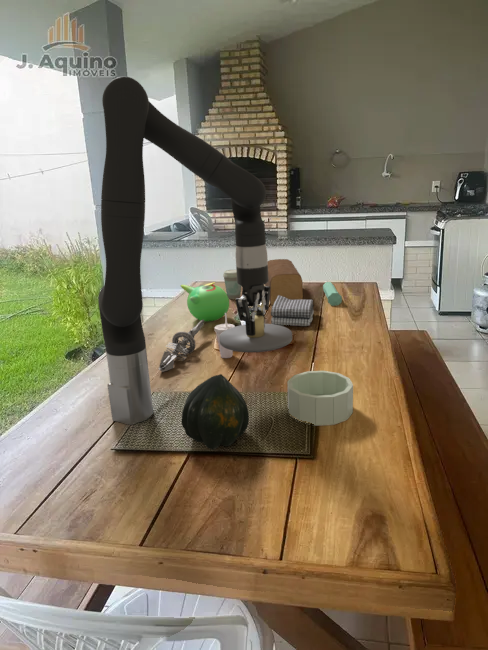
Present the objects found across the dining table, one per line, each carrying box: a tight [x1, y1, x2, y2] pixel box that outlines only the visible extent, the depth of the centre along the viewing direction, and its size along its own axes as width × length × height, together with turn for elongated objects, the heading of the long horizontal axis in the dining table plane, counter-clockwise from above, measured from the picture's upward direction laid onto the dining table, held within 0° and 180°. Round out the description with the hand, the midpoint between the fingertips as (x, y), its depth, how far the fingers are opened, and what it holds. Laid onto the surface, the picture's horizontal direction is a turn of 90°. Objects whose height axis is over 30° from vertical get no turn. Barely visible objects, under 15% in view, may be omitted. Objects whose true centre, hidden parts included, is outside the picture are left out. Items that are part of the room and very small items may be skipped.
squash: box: [180, 373, 250, 450], centre depth 112 cm, size 14×15×15 cm
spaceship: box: [158, 320, 205, 373], centre depth 163 cm, size 8×35×8 cm
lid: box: [219, 314, 293, 353], centre depth 127 cm, size 18×18×6 cm
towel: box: [270, 295, 315, 327], centre depth 193 cm, size 15×18×8 cm
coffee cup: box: [222, 269, 242, 300], centre depth 228 cm, size 8×9×12 cm
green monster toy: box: [180, 281, 230, 322], centre depth 197 cm, size 18×17×15 cm
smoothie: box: [214, 312, 236, 359], centre depth 159 cm, size 6×6×14 cm
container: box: [322, 281, 343, 307], centre depth 221 cm, size 6×6×25 cm
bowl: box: [287, 370, 354, 427], centre depth 123 cm, size 15×15×7 cm
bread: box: [264, 258, 304, 307], centre depth 226 cm, size 14×34×14 cm, turn 2°
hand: (255, 331), depth 127 cm, fingers closed on lid, 4 cm apart
